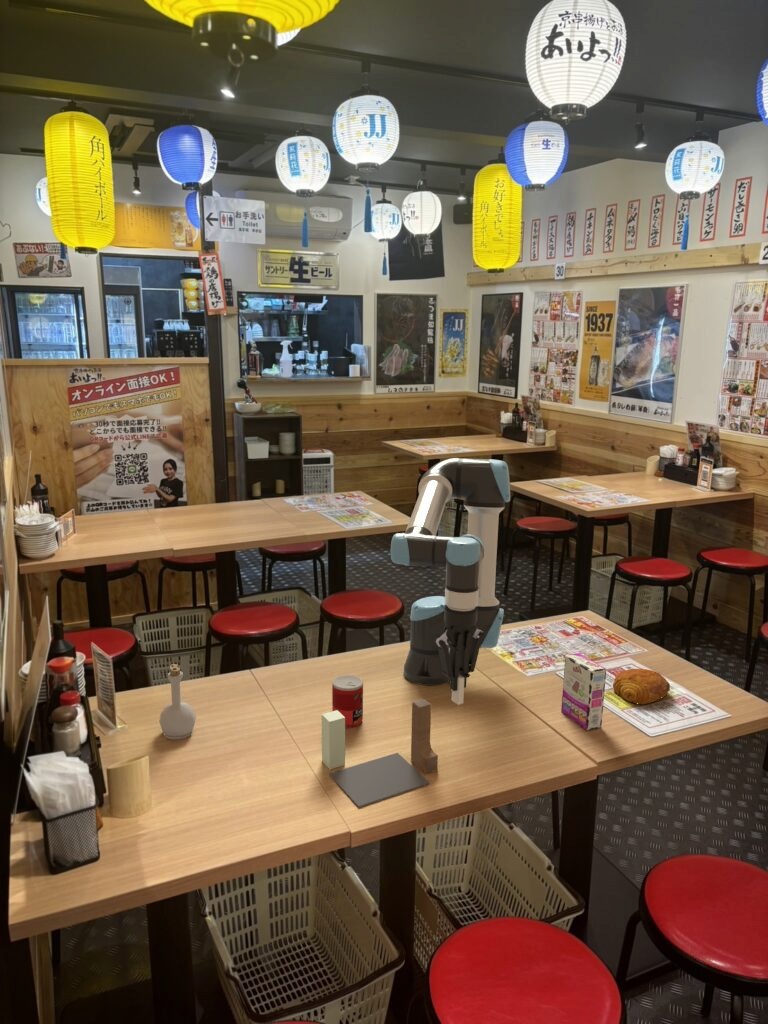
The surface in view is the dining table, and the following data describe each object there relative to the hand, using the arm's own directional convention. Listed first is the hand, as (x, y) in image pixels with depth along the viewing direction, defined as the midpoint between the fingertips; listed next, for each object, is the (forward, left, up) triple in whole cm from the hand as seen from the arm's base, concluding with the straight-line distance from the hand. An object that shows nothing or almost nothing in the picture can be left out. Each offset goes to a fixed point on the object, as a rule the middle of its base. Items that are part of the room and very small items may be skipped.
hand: (457, 701), depth 171 cm
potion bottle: (+55, -42, -14) cm, 71 cm away
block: (+27, -11, -14) cm, 32 cm away
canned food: (+15, -27, -14) cm, 34 cm away
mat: (+21, 0, -14) cm, 25 cm away
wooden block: (+9, 0, -14) cm, 17 cm away
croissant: (-65, -1, -14) cm, 67 cm away
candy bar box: (-39, +2, -14) cm, 42 cm away
